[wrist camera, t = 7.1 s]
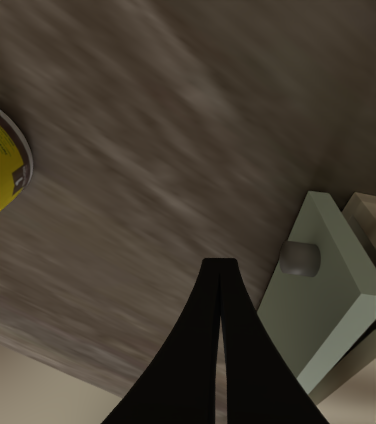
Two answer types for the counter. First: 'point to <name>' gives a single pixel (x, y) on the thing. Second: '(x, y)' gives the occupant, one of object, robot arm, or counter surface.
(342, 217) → the door
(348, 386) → the cabinet
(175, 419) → the robot arm
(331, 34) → the counter surface
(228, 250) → the counter surface
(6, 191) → the supplement bottle
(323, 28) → the counter surface
